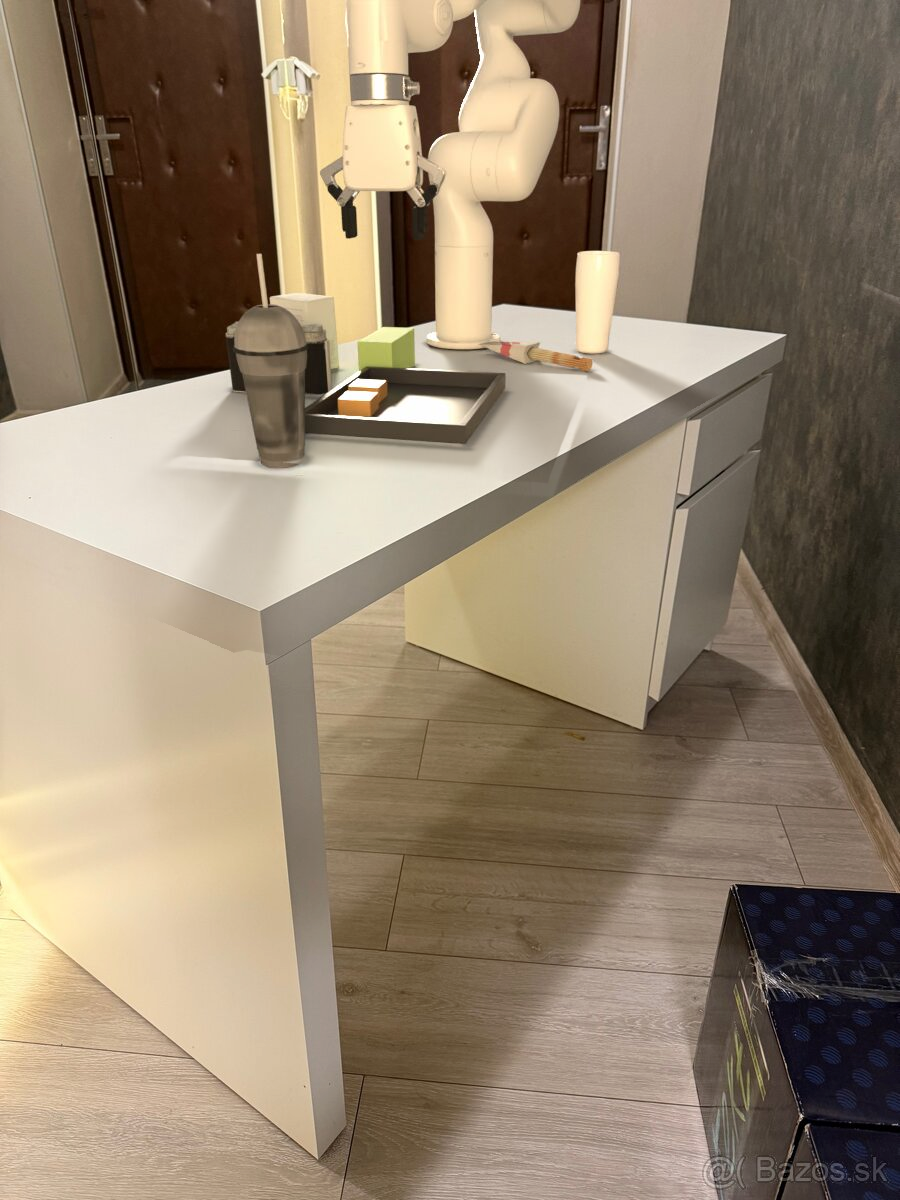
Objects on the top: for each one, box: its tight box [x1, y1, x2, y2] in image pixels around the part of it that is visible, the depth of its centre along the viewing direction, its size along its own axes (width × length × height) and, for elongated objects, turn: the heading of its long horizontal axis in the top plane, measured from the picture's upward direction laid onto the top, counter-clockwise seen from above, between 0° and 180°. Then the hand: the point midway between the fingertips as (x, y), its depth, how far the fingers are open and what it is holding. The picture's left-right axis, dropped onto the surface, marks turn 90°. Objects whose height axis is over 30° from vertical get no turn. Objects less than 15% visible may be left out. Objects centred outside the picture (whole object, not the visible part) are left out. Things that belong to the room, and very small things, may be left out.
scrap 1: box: [348, 379, 387, 403], centre depth 106 cm, size 4×4×2 cm
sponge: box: [357, 326, 416, 372], centre depth 121 cm, size 12×5×6 cm, turn 167°
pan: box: [305, 366, 507, 445], centre depth 102 cm, size 26×20×3 cm
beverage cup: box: [233, 253, 308, 469], centre depth 82 cm, size 7×7×20 cm
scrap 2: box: [338, 391, 379, 417], centre depth 101 cm, size 4×4×2 cm
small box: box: [269, 292, 340, 370], centre depth 122 cm, size 8×6×10 cm
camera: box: [225, 320, 333, 395], centre depth 109 cm, size 15×7×10 cm, turn 72°
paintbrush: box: [479, 341, 593, 372], centre depth 128 cm, size 4×3×20 cm
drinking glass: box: [574, 250, 621, 355], centre depth 133 cm, size 7×7×15 cm
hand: (384, 238), depth 114 cm, fingers open, 9 cm apart
